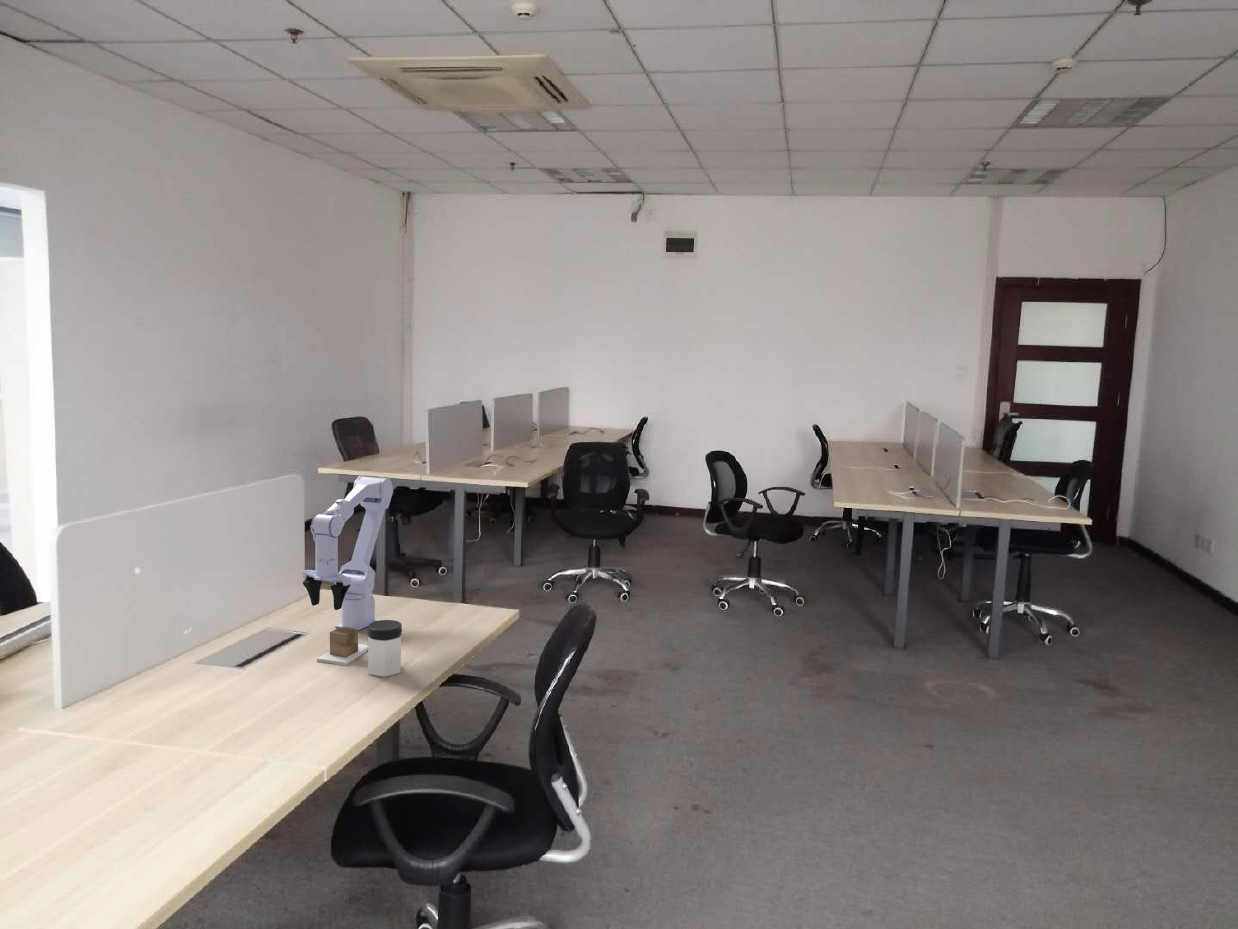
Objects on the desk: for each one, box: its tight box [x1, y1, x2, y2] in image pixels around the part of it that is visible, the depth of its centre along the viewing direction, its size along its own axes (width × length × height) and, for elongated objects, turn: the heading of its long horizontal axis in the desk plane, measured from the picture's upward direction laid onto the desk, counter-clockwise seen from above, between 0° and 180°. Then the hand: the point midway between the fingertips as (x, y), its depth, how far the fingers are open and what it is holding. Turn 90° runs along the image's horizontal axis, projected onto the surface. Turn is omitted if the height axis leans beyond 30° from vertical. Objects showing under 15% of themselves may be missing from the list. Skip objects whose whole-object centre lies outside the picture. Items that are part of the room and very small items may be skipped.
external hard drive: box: [316, 643, 368, 666], centre depth 220 cm, size 2×8×12 cm
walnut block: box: [329, 626, 359, 657], centre depth 218 cm, size 5×5×6 cm
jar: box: [367, 619, 403, 678], centre depth 210 cm, size 9×8×12 cm
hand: (326, 606), depth 227 cm, fingers open, 7 cm apart
